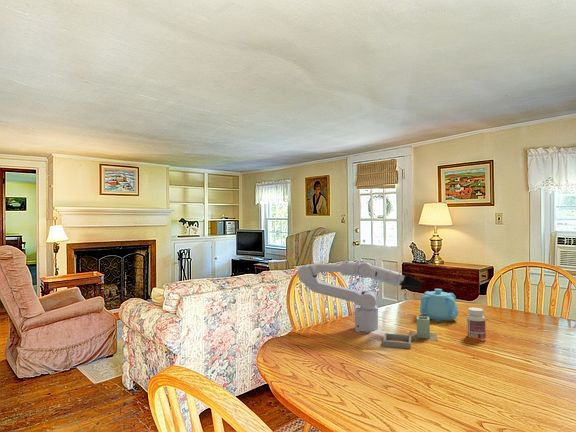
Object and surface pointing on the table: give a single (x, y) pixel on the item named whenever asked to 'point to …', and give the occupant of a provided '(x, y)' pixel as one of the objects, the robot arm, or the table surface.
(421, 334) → the green sleeve
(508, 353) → the table surface
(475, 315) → the pill bottle
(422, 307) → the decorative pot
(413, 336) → the pin block
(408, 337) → the grey tray
